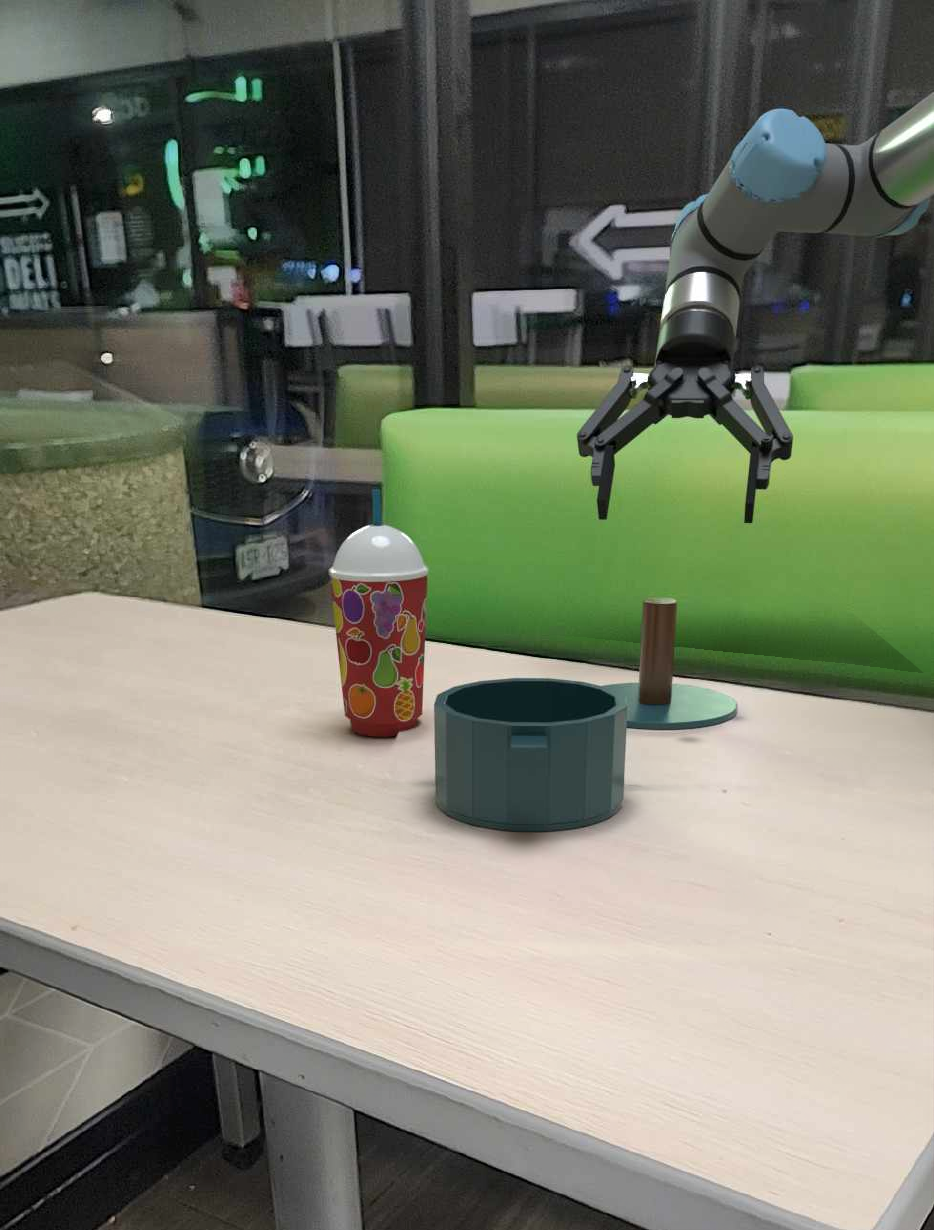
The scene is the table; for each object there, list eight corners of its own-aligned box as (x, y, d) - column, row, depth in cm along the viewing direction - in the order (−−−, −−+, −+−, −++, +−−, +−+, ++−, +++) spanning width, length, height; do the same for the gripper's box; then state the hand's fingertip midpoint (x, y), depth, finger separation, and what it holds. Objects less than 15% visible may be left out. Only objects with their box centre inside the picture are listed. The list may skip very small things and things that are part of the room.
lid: (725, 695, 122) (733, 586, 117) (747, 737, 108) (757, 616, 104) (571, 693, 122) (574, 586, 118) (573, 735, 109) (577, 615, 105)
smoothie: (416, 713, 116) (411, 483, 108) (443, 736, 109) (440, 492, 101) (327, 721, 113) (315, 487, 105) (349, 745, 106) (337, 496, 98)
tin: (615, 763, 101) (619, 670, 98) (629, 847, 84) (634, 737, 81) (446, 761, 102) (445, 668, 99) (425, 844, 85) (423, 735, 82)
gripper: (823, 365, 126) (809, 541, 118) (575, 365, 131) (546, 534, 124) (831, 304, 119) (815, 486, 112) (568, 307, 124) (538, 481, 117)
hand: (674, 512), depth 118 cm, fingers open, 13 cm apart
